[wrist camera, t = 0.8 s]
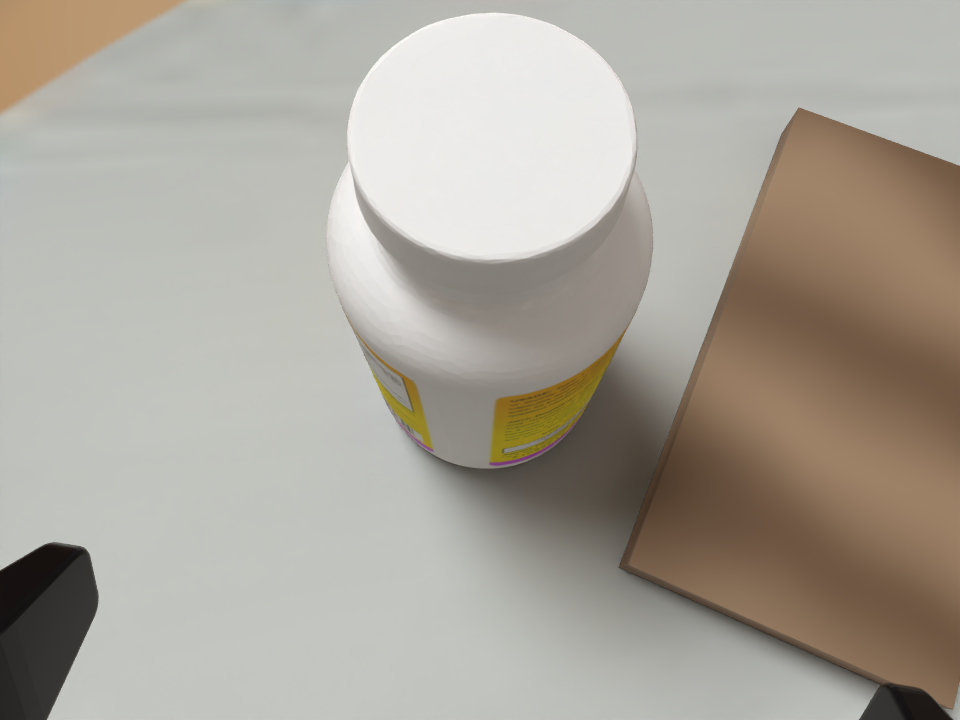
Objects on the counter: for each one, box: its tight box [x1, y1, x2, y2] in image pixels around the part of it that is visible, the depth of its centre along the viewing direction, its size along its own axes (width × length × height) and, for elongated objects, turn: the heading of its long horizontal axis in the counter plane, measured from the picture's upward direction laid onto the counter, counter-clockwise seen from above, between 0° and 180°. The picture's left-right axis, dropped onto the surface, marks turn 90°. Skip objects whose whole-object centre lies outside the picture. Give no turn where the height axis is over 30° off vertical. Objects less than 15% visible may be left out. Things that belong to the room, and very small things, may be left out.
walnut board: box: [619, 108, 960, 709], centre depth 24 cm, size 16×9×2 cm, turn 156°
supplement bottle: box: [326, 13, 653, 469], centre depth 18 cm, size 7×7×13 cm
